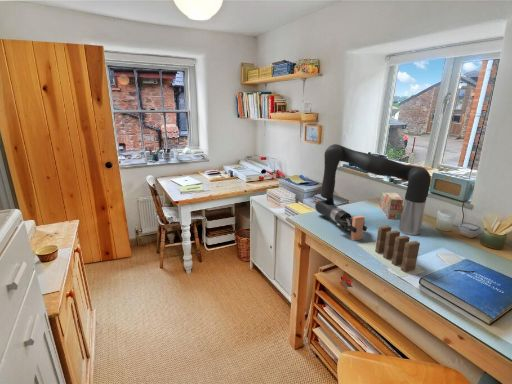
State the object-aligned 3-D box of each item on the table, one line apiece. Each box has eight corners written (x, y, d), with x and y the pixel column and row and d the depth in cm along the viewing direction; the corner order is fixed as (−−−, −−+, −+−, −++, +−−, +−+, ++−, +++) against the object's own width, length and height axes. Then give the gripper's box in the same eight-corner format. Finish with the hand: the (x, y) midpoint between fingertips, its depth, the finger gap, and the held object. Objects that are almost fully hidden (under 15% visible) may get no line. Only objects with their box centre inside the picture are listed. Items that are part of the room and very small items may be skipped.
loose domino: (350, 239, 138) (352, 216, 134) (359, 237, 140) (361, 215, 136) (352, 241, 136) (355, 218, 133) (361, 239, 138) (364, 216, 134)
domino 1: (375, 251, 126) (378, 226, 122) (384, 249, 128) (388, 225, 124) (378, 253, 124) (381, 228, 121) (387, 251, 126) (391, 227, 122)
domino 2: (382, 257, 122) (386, 231, 118) (392, 255, 123) (396, 230, 119) (386, 259, 120) (390, 233, 116) (396, 257, 121) (400, 232, 117)
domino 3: (391, 263, 117) (395, 236, 113) (401, 261, 118) (405, 235, 115) (395, 265, 115) (399, 239, 112) (405, 263, 117) (409, 237, 113)
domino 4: (400, 269, 112) (405, 242, 109) (410, 267, 114) (415, 240, 110) (404, 272, 111) (409, 245, 107) (414, 270, 112) (420, 243, 108)
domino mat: (357, 245, 133) (357, 244, 132) (378, 241, 136) (378, 240, 136) (400, 277, 108) (401, 276, 108) (425, 272, 111) (425, 271, 111)
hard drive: (474, 269, 111) (455, 253, 123) (452, 269, 112) (435, 253, 123) (473, 273, 112) (454, 256, 123) (452, 272, 112) (435, 256, 124)
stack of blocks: (379, 206, 182) (382, 187, 178) (389, 206, 181) (392, 188, 177) (388, 219, 162) (391, 198, 158) (400, 220, 161) (403, 199, 157)
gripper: (329, 211, 146) (348, 224, 130) (353, 208, 150) (374, 221, 134) (328, 225, 148) (347, 239, 133) (351, 221, 152) (372, 235, 137)
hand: (360, 230), depth 134 cm, fingers closed on loose domino, 5 cm apart
